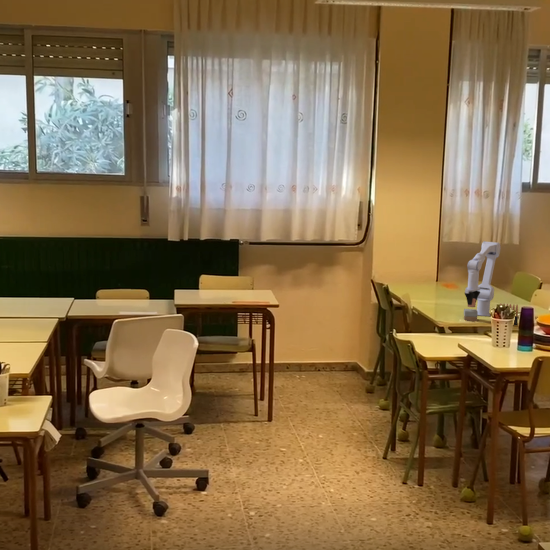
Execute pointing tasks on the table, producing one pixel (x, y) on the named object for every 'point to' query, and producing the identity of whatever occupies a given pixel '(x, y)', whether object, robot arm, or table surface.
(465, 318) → the tower base
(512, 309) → the ammunition clip
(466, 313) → the tower top
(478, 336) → the table surface
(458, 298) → the table surface
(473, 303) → the pink cylinder
